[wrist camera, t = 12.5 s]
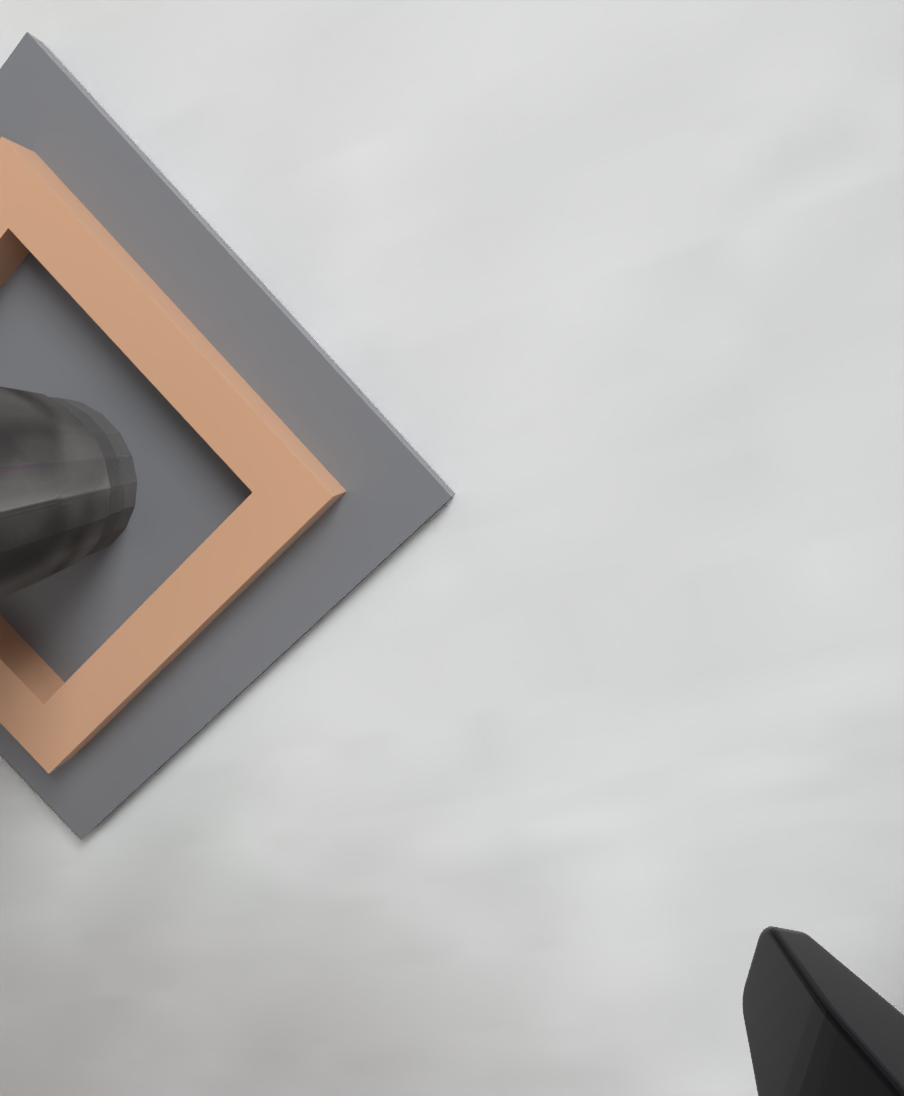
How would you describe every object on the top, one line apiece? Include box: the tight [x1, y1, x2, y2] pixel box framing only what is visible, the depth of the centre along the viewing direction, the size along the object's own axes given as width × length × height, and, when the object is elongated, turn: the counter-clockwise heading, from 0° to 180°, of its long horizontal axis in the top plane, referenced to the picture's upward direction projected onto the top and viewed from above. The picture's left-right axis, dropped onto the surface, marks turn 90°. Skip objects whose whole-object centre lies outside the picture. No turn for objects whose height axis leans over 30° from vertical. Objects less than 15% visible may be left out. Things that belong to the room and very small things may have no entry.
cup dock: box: [0, 32, 455, 839], centre depth 21 cm, size 16×16×2 cm
